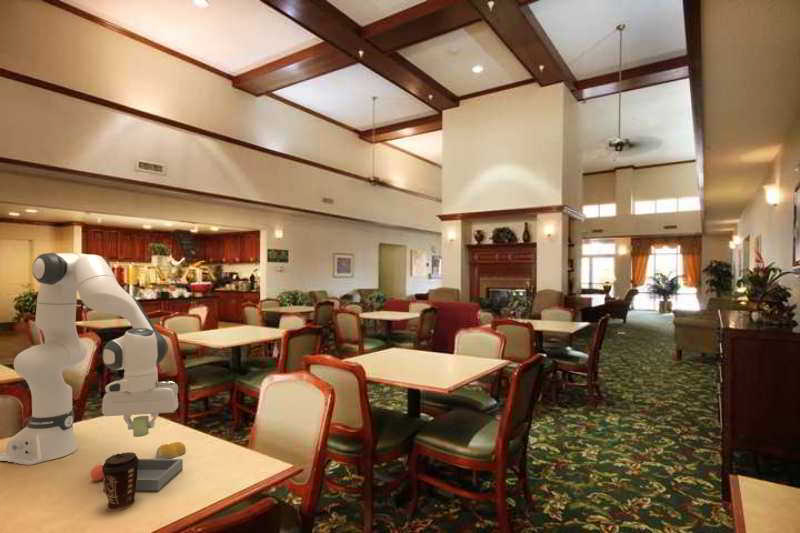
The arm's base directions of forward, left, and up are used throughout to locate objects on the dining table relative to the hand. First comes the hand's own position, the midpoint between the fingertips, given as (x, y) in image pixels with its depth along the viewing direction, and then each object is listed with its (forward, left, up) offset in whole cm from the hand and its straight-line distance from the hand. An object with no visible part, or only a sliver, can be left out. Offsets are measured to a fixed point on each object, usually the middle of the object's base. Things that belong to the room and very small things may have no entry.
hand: (141, 428), depth 132 cm
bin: (0, +2, -17) cm, 17 cm away
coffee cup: (+2, -12, -17) cm, 21 cm away
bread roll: (-2, +20, -17) cm, 27 cm away
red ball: (-14, +2, -14) cm, 20 cm away
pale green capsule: (0, 0, -2) cm, 2 cm away
